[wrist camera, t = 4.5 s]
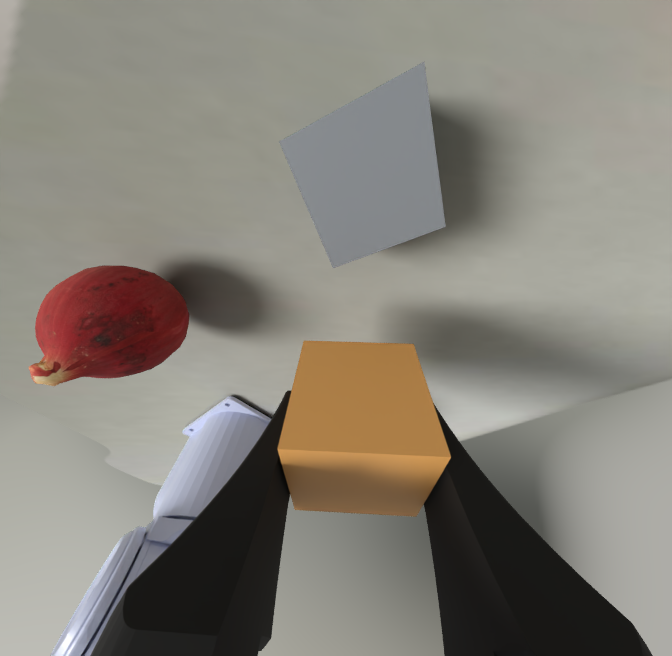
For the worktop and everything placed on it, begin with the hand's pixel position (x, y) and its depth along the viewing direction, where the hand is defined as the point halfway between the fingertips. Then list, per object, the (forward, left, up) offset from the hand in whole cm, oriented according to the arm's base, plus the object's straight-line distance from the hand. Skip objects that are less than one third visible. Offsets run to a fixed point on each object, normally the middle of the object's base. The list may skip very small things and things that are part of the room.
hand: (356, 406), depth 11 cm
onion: (-8, +10, -7) cm, 15 cm away
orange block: (0, 0, -2) cm, 2 cm away
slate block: (+6, +6, -7) cm, 11 cm away
